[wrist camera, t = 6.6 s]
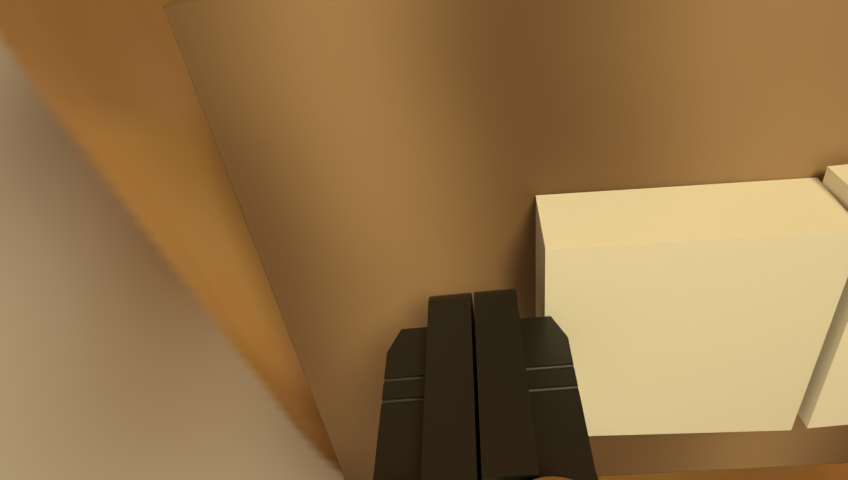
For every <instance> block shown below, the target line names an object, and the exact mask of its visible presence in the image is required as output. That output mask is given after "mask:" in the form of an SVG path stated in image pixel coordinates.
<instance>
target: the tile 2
mask: <svg viewBox="0 0 848 480" xmlns="http://www.w3.org/2000/svg"><path fill="white" fill-rule="evenodd" d="M822 184H823V185H824V186H825V187H826V188H827V189H828V190H829V191H830V193H831V194H832V195H833V196H834V197H835V198H836V199H837V201H838V202H839V203H840V204H841V205H842V206H843V207H844V209H845V210H846V211H847V212H848V164H845V165H836V166H827V169H826V172H825V175H824V179H823V182H822ZM798 415H799V417H800V418H801V420H802V421H803V423H804V424H805V426H806V428H817V427H827V426H838V425H848V278H847V280H846V283H845V286H844V288H843V291H842V294H841V297H840V299H839V302H838V305H837V307H836V310H835V313H834V316H833V318H832V321H831V324H830V326H829V329H828V332H827V335H826V337H825V340H824V343H823V345H822V348H821V351H820V354H819V356H818V359H817V362H816V364H815V367H814V370H813V373H812V375H811V378H810V381H809V383H808V386H807V389H806V392H805V394H804V397H803V400H802V402H801V405H800V408H799V411H798Z"/></svg>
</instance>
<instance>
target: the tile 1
mask: <svg viewBox="0 0 848 480" xmlns="http://www.w3.org/2000/svg"><path fill="white" fill-rule="evenodd" d="M847 278H848V212H847V211H846V210H845V209H844V207H843V206H842V205H841V204H840V203H839V202H838V201H837V199H836V198H835V197H834V196H833V195H832V194H831V193H830V191H829V190H828V189H827V188H826V187H825V186H824V185H823V184H822V182H821V181H820V180H819V179H818V178H817V177H816V178H800V179H784V180H769V181H753V182H737V183H722V184H706V185H690V186H675V187H659V188H643V189H628V190H612V191H596V192H581V193H565V194H549V195H536V317H545V316H551V317H552V318H553V319H554V321H555V322H556V323H557V324H558V326H559V327H560V328H561V329H562V330H563V332H564V333H565V334H566V335H567V337H568V340H569V345H570V349H571V354H572V359H573V365H574V369H575V374H576V378H577V383H578V390H579V393H580V398H581V402H582V407H583V412H584V417H585V422H586V427H587V431H588V436H610V435H645V434H679V433H714V432H748V431H783V430H792V427H793V424H794V421H795V419H796V416H797V413H798V411H799V408H800V405H801V402H802V400H803V397H804V394H805V392H806V389H807V386H808V383H809V381H810V378H811V375H812V373H813V370H814V367H815V364H816V362H817V359H818V356H819V354H820V351H821V348H822V345H823V343H824V340H825V337H826V335H827V332H828V329H829V326H830V324H831V321H832V318H833V316H834V313H835V310H836V307H837V305H838V302H839V299H840V297H841V294H842V291H843V288H844V286H845V283H846V280H847Z"/></svg>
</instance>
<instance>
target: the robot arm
mask: <svg viewBox="0 0 848 480" xmlns="http://www.w3.org/2000/svg"><path fill="white" fill-rule="evenodd" d="M474 311H475V314H474ZM384 381H385V382H384V384H383V393H382V405H381V411H380V420H379V429H378V438H377V447H376V456H375V465H374V474H373V480H598V477H597V473H596V470H595V465H594V460H593V456H592V451H591V446H590V441H589V436H588V431H587V427H586V422H585V417H584V412H583V407H582V402H581V398H580V393H579V390H578V383H577V378H576V374H575V369H574V365H573V359H572V354H571V349H570V345H569V340H568V337H567V335H566V334H565V333H564V332H563V330H562V329H561V328H560V327H559V326H558V324H557V323H556V322H555V321H554V319H553V318H552V317H551V316H545V317H533V318H522V319H520V316H519V308H518V300H517V293H516V288H514V289H503V290H492V291H481V292H474V307H473V300H472V294H471V293H461V294H451V295H440V296H430V297H429V301H428V321H427V327H421V328H409V329H401V331H400V332H399V334H398V335H397V337H396V339H395V340H394V342H393V344H392V345H391V347H390V348H389V350H388V352H387V357H386V366H385V375H384Z"/></svg>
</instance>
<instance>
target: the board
mask: <svg viewBox="0 0 848 480" xmlns="http://www.w3.org/2000/svg"><path fill="white" fill-rule="evenodd" d="M163 8H164V10H165V13H166V16H167V18H168V21H169V23H170V26H171V28H172V31H173V34H174V36H175V39H176V41H177V44H178V47H179V49H180V52H181V54H182V57H183V60H184V62H185V65H186V67H187V70H188V73H189V75H190V78H191V80H192V83H193V86H194V88H195V91H196V93H197V96H198V99H199V101H200V104H201V106H202V109H203V112H204V114H205V117H206V119H207V122H208V125H209V127H210V130H211V132H212V135H213V138H214V140H215V143H216V145H217V148H218V151H219V153H220V156H221V158H222V161H223V164H224V166H225V169H226V171H227V174H228V177H229V179H230V182H231V184H232V187H233V190H234V192H235V195H236V197H237V200H238V203H239V205H240V208H241V210H242V213H243V216H244V218H245V221H246V223H247V226H248V229H249V231H250V234H251V236H252V239H253V242H254V244H255V247H256V249H257V252H258V255H259V257H260V260H261V262H262V265H263V268H264V270H265V273H266V275H267V278H268V281H269V283H270V286H271V288H272V291H273V294H274V296H275V299H276V301H277V304H278V307H279V309H280V312H281V314H282V317H283V320H284V322H285V325H286V327H287V330H288V333H289V335H290V338H291V340H292V343H293V346H294V348H295V351H296V353H297V356H298V359H299V361H300V364H301V366H302V369H303V372H304V374H305V377H306V379H307V382H308V385H309V387H310V390H311V392H312V395H313V398H314V400H315V403H316V405H317V408H318V411H319V413H320V416H321V418H322V421H323V424H324V426H325V429H326V431H327V434H328V437H329V439H330V442H331V444H332V447H333V450H334V452H335V455H336V457H337V460H338V463H339V465H340V468H341V470H342V473H343V475H344V478H345V480H373V474H374V465H375V456H376V447H377V438H378V429H379V420H380V411H381V405H382V393H383V384H384V382H385V381H384V375H385V366H386V357H387V352H388V350H389V348H390V347H391V345H392V344H393V342H394V340H395V339H396V337H397V335H398V334H399V332H400V331H401V329H409V328H421V327H427V321H428V301H429V297H430V296H440V295H451V294H461V293H471V294H472V300H473V307H474V292H481V291H492V290H503V289H514V288H516V293H517V300H518V308H519V316H520V319H522V318H533V317H536V195H549V194H565V193H581V192H596V191H612V190H628V189H643V188H659V187H675V186H690V185H706V184H722V183H737V182H753V181H769V180H784V179H800V178H816V177H817V178H818V179H819V180H820V181H821V182H823V179H824V175H825V172H826V169H827V166H836V165H845V164H848V0H171V1H170V2H168V3H167V4H166V5H165V6H163ZM474 314H475V311H474ZM589 441H590V446H591V451H592V456H593V460H594V465H595V470H596V473H597V476H613V475H632V474H651V473H669V472H688V471H707V470H725V469H744V468H763V467H781V466H800V465H818V464H837V463H848V425H838V426H827V427H817V428H806V426H805V424H804V423H803V421H802V420H801V418H800V417H799V415H798V413H797V416H796V419H795V421H794V424H793V427H792V430H783V431H748V432H714V433H679V434H645V435H610V436H589Z"/></svg>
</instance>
